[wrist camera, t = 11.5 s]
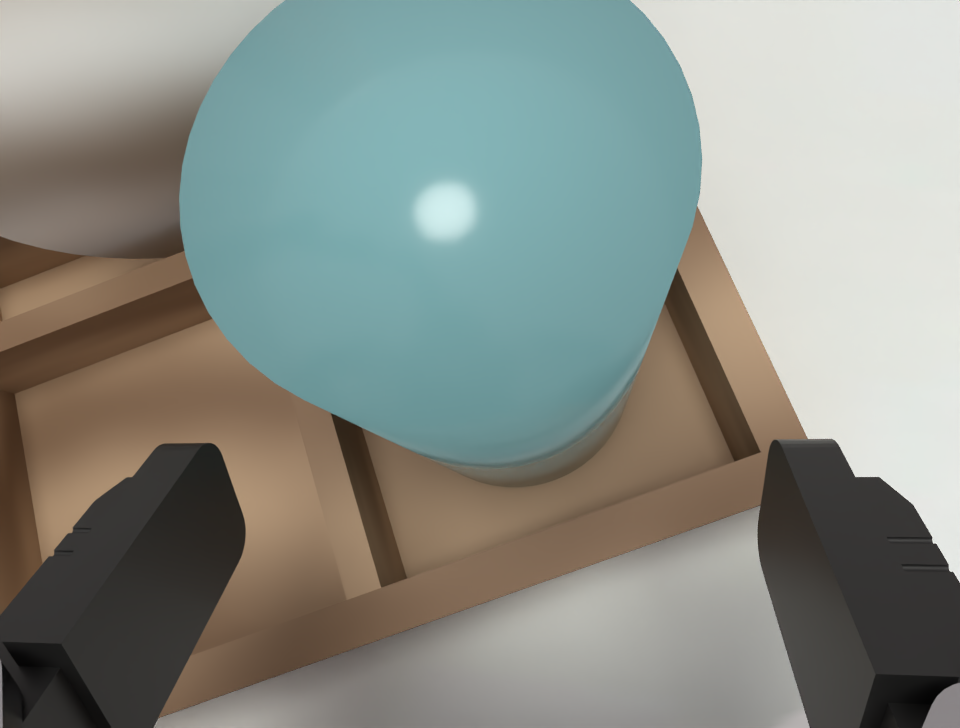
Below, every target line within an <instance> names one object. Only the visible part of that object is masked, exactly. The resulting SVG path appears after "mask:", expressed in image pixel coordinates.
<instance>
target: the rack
mask: <svg viewBox="0 0 960 728" xmlns="http://www.w3.org/2000/svg"><path fill="white" fill-rule="evenodd" d="M284 1H285V0H0V615H1V614H2V612H3V611H4V610H5V609H6V608H7V606H8V605H9V604H10V603H11V601H12V600H13V599H14V598H15V597H16V595H17V594H18V593H19V592H20V591H21V589H22V588H23V587H24V586H25V585H26V583H27V582H28V581H29V580H30V578H31V577H32V576H33V575H34V574H35V572H36V571H37V570H38V569H39V568H40V566H41V565H42V564H43V563H44V562H45V560H46V559H47V558H48V557H49V556H53V555H54V549H55V548H56V547H57V546H58V545H59V543H60V542H61V541H62V540H63V539H64V537H65V536H66V535H67V534H68V533H72V532H73V526H74V525H75V524H76V523H77V522H78V520H79V519H80V518H81V517H82V515H83V514H84V513H85V512H86V511H87V509H88V508H89V507H90V506H91V505H92V503H93V502H94V501H95V500H96V499H98V498H99V497H100V496H102V495H103V494H104V493H106V492H107V491H109V490H110V489H111V488H113V487H114V486H115V485H117V484H118V483H119V482H121V481H122V480H124V479H125V478H126V477H133V476H134V474H135V473H136V472H137V471H138V469H139V468H140V467H141V466H142V464H143V463H144V462H145V461H146V459H147V458H148V457H149V456H150V454H151V453H152V452H153V450H154V449H155V448H156V447H158V446H159V445H161V444H164V443H212V444H214V445H216V446H217V447H218V448H219V450H220V451H221V454H222V456H223V459H224V462H225V465H226V467H227V470H228V473H229V476H230V479H231V482H232V485H233V487H234V490H235V493H236V496H237V499H238V502H239V505H240V507H241V510H242V513H243V516H244V520H245V527H246V538H245V546H244V550H243V553H242V556H241V559H240V561H239V563H238V565H237V567H236V569H235V571H234V573H233V575H232V576H231V578H230V580H229V582H228V584H227V586H226V588H225V590H224V592H223V594H222V596H221V598H220V600H219V602H218V603H217V605H216V607H215V609H214V611H213V613H212V615H211V617H210V619H209V621H208V623H207V625H206V627H205V629H204V630H203V632H202V634H201V636H200V638H199V640H198V642H197V644H196V646H195V648H194V650H193V652H192V654H191V655H190V657H189V659H188V661H187V663H186V665H185V667H184V669H183V671H182V673H181V675H180V677H179V679H178V681H177V682H176V684H175V686H174V688H173V690H172V692H171V694H170V696H169V698H168V700H167V702H166V704H165V706H164V708H163V709H162V711H161V713H160V715H159V717H158V718H160V717H162V716H165V715H168V714H171V713H174V712H177V711H179V710H182V709H185V708H188V707H191V706H194V705H196V704H199V703H202V702H205V701H208V700H211V699H213V698H216V697H219V696H222V695H225V694H228V693H230V692H233V691H236V690H239V689H242V688H244V687H247V686H250V685H253V684H256V683H259V682H261V681H264V680H267V679H270V678H273V677H276V676H278V675H281V674H284V673H287V672H290V671H293V670H295V669H298V668H301V667H304V666H307V665H310V664H312V663H315V662H318V661H321V660H324V659H327V658H329V657H332V656H335V655H338V654H341V653H344V652H346V651H349V650H352V649H355V648H358V647H361V646H363V645H366V644H369V643H372V642H375V641H377V640H380V639H383V638H386V637H389V636H392V635H394V634H397V633H400V632H403V631H406V630H409V629H411V628H414V627H417V626H420V625H423V624H426V623H428V622H431V621H434V620H437V619H440V618H443V617H445V616H448V615H451V614H454V613H457V612H460V611H462V610H465V609H468V608H471V607H474V606H477V605H479V604H482V603H485V602H488V601H491V600H494V599H496V598H499V597H502V596H505V595H508V594H510V593H513V592H516V591H519V590H522V589H525V588H527V587H530V586H533V585H536V584H539V583H542V582H544V581H547V580H550V579H553V578H556V577H559V576H561V575H564V574H567V573H570V572H573V571H576V570H578V569H581V568H584V567H587V566H590V565H593V564H595V563H598V562H601V561H604V560H607V559H610V558H612V557H615V556H618V555H621V554H624V553H627V552H629V551H632V550H635V549H638V548H641V547H643V546H646V545H649V544H652V543H655V542H658V541H660V540H663V539H666V538H669V537H672V536H675V535H677V534H680V533H683V532H686V531H689V530H692V529H694V528H697V527H700V526H703V525H706V524H709V523H711V522H714V521H717V520H720V519H723V518H726V517H728V516H731V515H734V514H737V513H740V512H743V511H745V510H748V509H751V508H754V507H757V506H760V505H761V499H762V493H763V486H764V479H765V472H766V465H767V458H768V452H769V448H770V445H771V442H772V441H773V440H775V439H808V438H807V436H806V434H805V432H804V430H803V428H802V426H801V424H800V422H799V419H798V417H797V415H796V413H795V411H794V409H793V407H792V405H791V403H790V400H789V398H788V396H787V394H786V392H785V390H784V388H783V386H782V384H781V382H780V379H779V377H778V375H777V373H776V371H775V369H774V367H773V365H772V363H771V360H770V358H769V356H768V354H767V352H766V350H765V348H764V346H763V344H762V341H761V339H760V337H759V335H758V333H757V331H756V329H755V327H754V325H753V323H752V320H751V318H750V316H749V314H748V312H747V310H746V308H745V306H744V304H743V301H742V299H741V297H740V295H739V293H738V291H737V289H736V287H735V285H734V282H733V280H732V278H731V276H730V274H729V272H728V270H727V268H726V266H725V264H724V261H723V259H722V257H721V255H720V253H719V251H718V249H717V247H716V245H715V242H714V240H713V238H712V236H711V234H710V232H709V230H708V228H707V226H706V224H705V221H704V219H703V217H702V215H701V213H700V211H699V209H698V207H697V208H696V213H695V218H694V222H693V227H692V230H691V232H690V235H689V238H688V240H687V243H686V246H685V248H684V251H683V254H682V257H681V259H680V262H679V265H678V267H677V270H676V273H675V275H674V278H673V281H672V283H671V286H670V289H669V291H668V294H667V297H666V299H665V302H664V305H663V307H662V310H661V313H660V315H659V318H658V321H657V323H656V326H655V329H654V331H653V334H652V337H651V339H650V342H649V345H648V347H647V350H646V353H645V355H644V358H643V361H642V363H641V366H640V369H639V371H638V374H637V377H636V379H635V382H634V385H633V387H632V390H631V393H630V395H629V398H628V401H627V403H626V406H625V409H624V411H623V414H622V417H621V419H620V421H619V423H618V425H617V427H616V429H615V430H614V432H613V434H612V435H611V437H610V438H609V439H608V441H607V442H606V444H605V445H604V446H603V447H602V448H601V449H600V450H599V451H598V452H597V453H596V455H595V456H594V457H592V458H591V459H590V460H589V461H587V462H586V463H585V464H584V465H582V466H581V467H580V468H578V469H576V470H575V471H573V472H571V473H570V474H568V475H566V476H563V477H561V478H559V479H556V480H554V481H551V482H547V483H544V484H540V485H535V486H529V487H500V486H492V485H488V484H484V483H480V482H477V481H474V480H472V479H470V478H467V477H465V476H462V475H460V474H458V473H456V472H454V471H452V470H450V469H448V468H446V467H444V466H441V465H439V464H437V463H435V462H433V461H431V460H429V459H427V458H425V457H423V456H420V455H418V454H416V453H414V452H412V451H410V450H408V449H406V448H404V447H402V446H399V445H397V444H395V443H393V442H391V441H389V440H387V439H385V438H383V437H381V436H378V435H376V434H374V433H372V432H370V431H368V430H366V429H364V428H362V427H360V426H357V425H355V424H353V423H351V422H349V421H347V420H345V419H343V418H341V417H339V416H336V415H334V414H332V413H330V412H328V411H326V410H324V409H322V408H320V407H318V406H315V405H313V404H311V403H309V402H307V401H305V400H303V399H301V398H300V397H298V396H296V395H294V394H293V393H291V392H289V391H288V390H286V389H284V388H282V387H281V386H279V385H277V384H275V383H274V382H273V381H271V380H270V379H269V378H268V377H266V376H265V375H264V374H263V373H261V372H260V371H259V370H258V369H256V368H255V367H254V366H253V365H251V364H250V363H249V362H248V361H247V360H246V359H245V358H244V357H243V356H242V355H241V354H240V353H239V352H238V351H237V349H236V348H235V347H234V346H233V345H232V344H231V343H230V342H229V341H228V340H227V339H226V337H225V336H224V334H223V333H222V331H221V330H220V329H219V327H218V326H217V324H216V323H215V321H214V320H213V319H212V317H211V316H210V314H209V313H208V311H207V309H206V307H205V305H204V303H203V301H202V298H201V296H200V294H199V292H198V290H197V288H196V286H195V284H194V281H193V278H192V275H191V272H190V269H189V265H188V262H187V259H186V256H185V251H184V245H183V239H182V233H181V228H180V205H179V193H180V183H181V173H182V164H183V160H184V156H185V151H186V147H187V143H188V139H189V135H190V132H191V129H192V127H193V124H194V121H195V119H196V116H197V113H198V110H199V108H200V106H201V104H202V102H203V100H204V98H205V96H206V94H207V92H208V90H209V88H210V86H211V84H212V82H213V80H214V79H215V77H216V76H217V74H218V73H219V71H220V70H221V68H222V67H223V65H224V64H225V62H226V61H227V59H228V58H229V56H230V55H231V54H232V52H233V51H234V50H235V49H236V48H237V46H238V45H239V44H240V43H241V42H242V41H243V39H244V38H245V37H246V36H247V35H248V33H249V32H250V31H251V30H252V29H253V28H254V27H255V26H256V25H257V24H258V23H259V22H261V21H262V20H263V19H264V18H265V17H266V16H267V15H268V14H269V13H270V12H271V11H272V10H273V9H274V8H276V7H277V6H278V5H280V4H281V3H282V2H284Z"/></svg>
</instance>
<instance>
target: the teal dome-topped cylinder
mask: <svg viewBox="0 0 960 728" xmlns="http://www.w3.org/2000/svg"><path fill="white" fill-rule="evenodd" d="M701 167H702V153H701V141H700V129H699V123H698V119H697V115H696V111H695V106H694V102H693V98H692V94H691V92H690V89H689V87H688V84H687V82H686V79H685V77H684V74H683V72H682V69H681V67H680V65H679V63H678V61H677V60H676V58H675V56H674V55H673V53H672V51H671V49H670V48H669V46H668V44H667V43H666V41H665V39H664V38H663V37H662V35H661V34H660V33H659V32H658V30H657V29H656V28H655V27H654V25H653V24H652V23H651V22H650V20H649V19H648V18H647V17H646V15H645V14H644V13H643V12H642V11H641V10H639V9H638V8H637V7H636V6H635V5H634V4H633V3H632V2H631V1H630V0H285V1H284V2H282V3H281V4H280V5H278V6H277V7H276V8H274V9H273V10H272V11H271V12H270V13H269V14H268V15H267V16H266V17H265V18H264V19H263V20H262V21H261V22H259V23H258V24H257V25H256V26H255V27H254V28H253V29H252V30H251V31H250V32H249V33H248V35H247V36H246V37H245V38H244V39H243V41H242V42H241V43H240V44H239V45H238V46H237V48H236V49H235V50H234V51H233V52H232V54H231V55H230V56H229V58H228V59H227V61H226V62H225V64H224V65H223V67H222V68H221V70H220V71H219V73H218V74H217V76H216V77H215V79H214V80H213V82H212V84H211V86H210V88H209V90H208V92H207V94H206V96H205V98H204V100H203V102H202V104H201V106H200V108H199V110H198V113H197V116H196V119H195V121H194V124H193V127H192V129H191V132H190V135H189V139H188V143H187V147H186V151H185V156H184V160H183V164H182V173H181V183H180V193H179V205H180V228H181V233H182V239H183V245H184V251H185V256H186V259H187V262H188V265H189V269H190V272H191V275H192V278H193V281H194V284H195V286H196V288H197V290H198V292H199V294H200V296H201V298H202V301H203V303H204V305H205V307H206V309H207V311H208V313H209V314H210V316H211V317H212V319H213V320H214V321H215V323H216V324H217V326H218V327H219V329H220V330H221V331H222V333H223V334H224V336H225V337H226V339H227V340H228V341H229V342H230V343H231V344H232V345H233V346H234V347H235V348H236V349H237V351H238V352H239V353H240V354H241V355H242V356H243V357H244V358H245V359H246V360H247V361H248V362H249V363H250V364H251V365H253V366H254V367H255V368H256V369H258V370H259V371H260V372H261V373H263V374H264V375H265V376H266V377H268V378H269V379H270V380H271V381H273V382H274V383H275V384H277V385H279V386H281V387H282V388H284V389H286V390H288V391H289V392H291V393H293V394H294V395H296V396H298V397H300V398H301V399H303V400H305V401H307V402H309V403H311V404H313V405H315V406H318V407H320V408H322V409H324V410H326V411H328V412H330V413H332V414H334V415H336V416H339V417H341V418H343V419H345V420H347V421H349V422H351V423H353V424H355V425H357V426H360V427H362V428H364V429H366V430H368V431H370V432H372V433H374V434H376V435H378V436H381V437H383V438H385V439H387V440H389V441H391V442H393V443H395V444H397V445H399V446H402V447H404V448H406V449H408V450H410V451H412V452H414V453H416V454H418V455H420V456H423V457H425V458H427V459H429V460H431V461H433V462H435V463H437V464H439V465H441V466H444V467H446V468H448V469H450V470H452V471H454V472H456V473H458V474H460V475H462V476H465V477H467V478H470V479H472V480H474V481H477V482H480V483H484V484H488V485H492V486H500V487H529V486H535V485H540V484H544V483H547V482H551V481H554V480H556V479H559V478H561V477H563V476H566V475H568V474H570V473H571V472H573V471H575V470H576V469H578V468H580V467H581V466H582V465H584V464H585V463H586V462H587V461H589V460H590V459H591V458H592V457H594V456H595V455H596V453H597V452H598V451H599V450H600V449H601V448H602V447H603V446H604V445H605V444H606V442H607V441H608V439H609V438H610V437H611V435H612V434H613V432H614V430H615V429H616V427H617V425H618V423H619V421H620V419H621V417H622V414H623V411H624V409H625V406H626V403H627V401H628V398H629V395H630V393H631V390H632V387H633V385H634V382H635V379H636V377H637V374H638V371H639V369H640V366H641V363H642V361H643V358H644V355H645V353H646V350H647V347H648V345H649V342H650V339H651V337H652V334H653V331H654V329H655V326H656V323H657V321H658V318H659V315H660V313H661V310H662V307H663V305H664V302H665V299H666V297H667V294H668V291H669V289H670V286H671V283H672V281H673V278H674V275H675V273H676V270H677V267H678V265H679V262H680V259H681V257H682V254H683V251H684V248H685V246H686V243H687V240H688V238H689V235H690V232H691V230H692V227H693V222H694V218H695V213H696V208H697V204H698V199H699V194H700V183H701Z"/></svg>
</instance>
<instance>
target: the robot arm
mask: <svg viewBox="0 0 960 728" xmlns="http://www.w3.org/2000/svg"><path fill="white" fill-rule="evenodd" d="M245 538H246V527H245V520H244V516H243V513H242V510H241V507H240V505H239V502H238V499H237V496H236V493H235V490H234V487H233V485H232V482H231V479H230V476H229V473H228V470H227V467H226V465H225V462H224V459H223V456H222V454H221V451H220V450H219V448H218V447H217V446H216V445H214V444H212V443H164V444H161V445H159V446H158V447H156V448H155V449H154V450H153V452H152V453H151V454H150V456H149V457H148V458H147V459H146V461H145V462H144V463H143V464H142V466H141V467H140V468H139V469H138V471H137V472H136V473H135V474H134V476H133V477H126V478H125V479H124V480H122V481H121V482H119V483H118V484H117V485H115V486H114V487H113V488H111V489H110V490H109V491H107V492H106V493H104V494H103V495H102V496H100V497H99V498H98V499H96V500H95V501H94V502H93V503H92V505H91V506H90V507H89V508H88V509H87V511H86V512H85V513H84V514H83V515H82V517H81V518H80V519H79V520H78V522H77V523H76V524H75V525H74V526H73V532H72V533H68V534H67V535H66V536H65V537H64V539H63V540H62V541H61V542H60V543H59V545H58V546H57V547H56V548H55V549H54V555H53V556H49V557H48V558H47V559H46V560H45V562H44V563H43V564H42V565H41V566H40V568H39V569H38V570H37V571H36V572H35V574H34V575H33V576H32V577H31V578H30V580H29V581H28V582H27V583H26V585H25V586H24V587H23V588H22V589H21V591H20V592H19V593H18V594H17V595H16V597H15V598H14V599H13V600H12V601H11V603H10V604H9V605H8V606H7V608H6V609H5V610H4V611H3V612H2V614H1V615H0V728H153V727H154V725H155V723H156V721H157V719H158V717H159V715H160V713H161V711H162V709H163V708H164V706H165V704H166V702H167V700H168V698H169V696H170V694H171V692H172V690H173V688H174V686H175V684H176V682H177V681H178V679H179V677H180V675H181V673H182V671H183V669H184V667H185V665H186V663H187V661H188V659H189V657H190V655H191V654H192V652H193V650H194V648H195V646H196V644H197V642H198V640H199V638H200V636H201V634H202V632H203V630H204V629H205V627H206V625H207V623H208V621H209V619H210V617H211V615H212V613H213V611H214V609H215V607H216V605H217V603H218V602H219V600H220V598H221V596H222V594H223V592H224V590H225V588H226V586H227V584H228V582H229V580H230V578H231V576H232V575H233V573H234V571H235V569H236V567H237V565H238V563H239V561H240V559H241V556H242V553H243V550H244V546H245ZM758 549H759V557H760V562H761V567H762V571H763V574H764V577H765V581H766V584H767V587H768V591H769V594H770V597H771V600H772V604H773V607H774V610H775V614H776V617H777V620H778V624H779V627H780V630H781V634H782V637H783V640H784V643H785V647H786V650H787V653H788V657H789V660H790V663H791V667H792V670H793V673H794V677H795V680H796V683H797V686H798V690H799V693H800V696H801V700H802V703H803V706H804V710H805V713H806V716H807V719H808V723H809V726H810V728H960V583H959V581H958V579H957V578H956V576H955V574H954V573H953V572H950V571H949V568H948V566H949V564H948V563H947V561H946V559H945V558H944V556H943V554H942V553H941V551H940V549H939V548H938V546H937V544H933V542H932V536H931V534H930V533H929V531H928V529H927V528H926V526H925V524H924V523H923V521H922V519H921V518H920V516H919V514H918V513H917V511H916V509H915V508H914V506H913V504H911V503H910V502H909V501H908V500H906V499H905V498H904V497H903V496H902V495H900V494H899V493H898V492H897V491H895V490H894V489H893V488H892V487H891V486H889V485H888V484H887V483H886V482H884V481H883V480H882V479H881V478H880V477H855V476H854V474H853V472H852V470H851V468H850V466H849V464H848V462H847V460H846V458H845V456H844V455H843V453H842V451H841V449H840V447H839V445H838V444H837V442H836V441H835V440H833V439H775V440H773V441H772V442H771V445H770V448H769V452H768V458H767V465H766V472H765V479H764V486H763V493H762V499H761V506H760V513H759V520H758Z"/></svg>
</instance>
